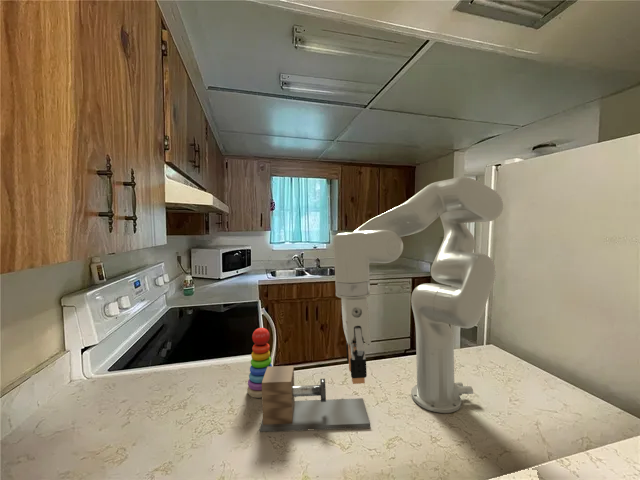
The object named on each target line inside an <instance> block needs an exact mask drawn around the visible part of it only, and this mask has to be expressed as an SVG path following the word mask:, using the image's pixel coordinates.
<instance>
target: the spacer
mask: <svg viewBox="0 0 640 480" xmlns="http://www.w3.org/2000/svg"><path fill="white" fill-rule="evenodd" d="M353 344H356V343H353ZM355 350H356V347H354V352H355ZM348 356H349V362H348V370H349V372H351V364H350V358H352V356H351V346H350V345H348ZM365 378H366V377H365ZM365 378H352V377H351V381H352V385H357V384H358V385H359V384H361V385H362V384H365V382H366V380H365Z"/></svg>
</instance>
